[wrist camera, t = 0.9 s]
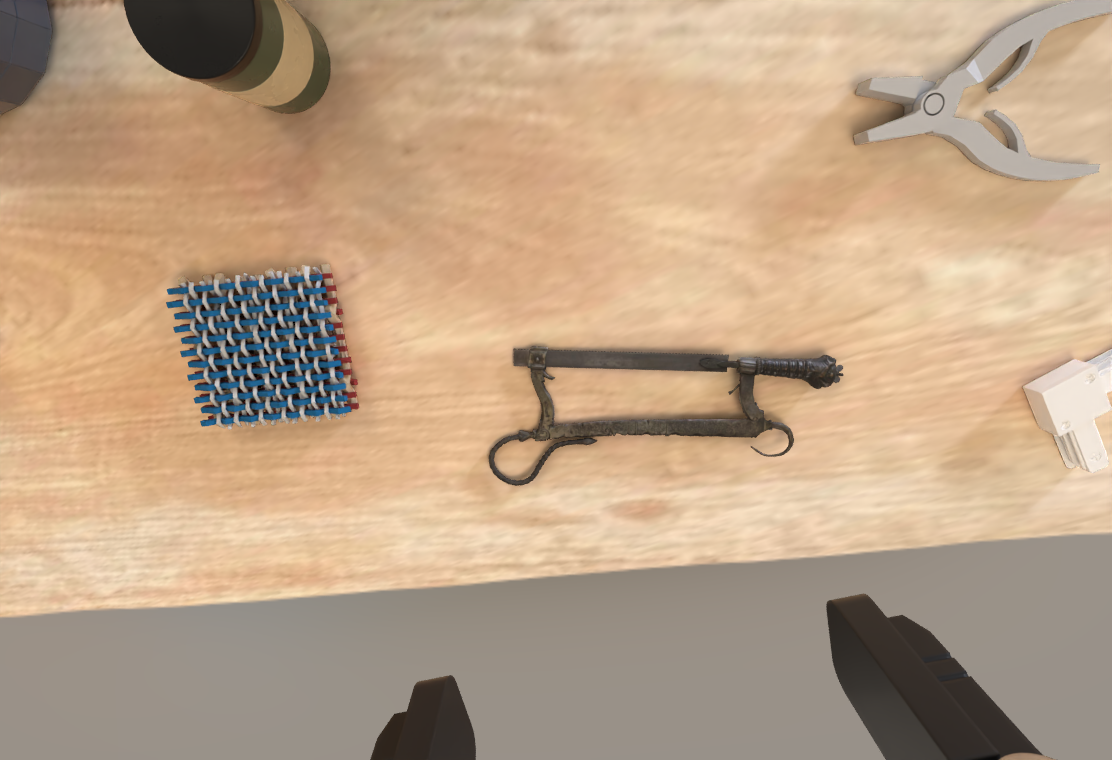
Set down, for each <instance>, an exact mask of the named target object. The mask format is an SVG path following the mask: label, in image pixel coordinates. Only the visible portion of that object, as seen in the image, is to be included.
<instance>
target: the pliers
mask: <svg viewBox="0 0 1112 760" xmlns="http://www.w3.org/2000/svg"><path fill="white" fill-rule="evenodd" d="M1106 14H1112V0H1074V1H1070V2H1066V3H1061V4H1058V5H1055V6H1053V7H1050V8H1047V9H1044V10H1042V11H1039V12H1037V13H1035V14H1032V15H1030V16H1028V17H1026V18H1023V19H1021V20H1019V21H1017V22H1015V23H1013V24H1011V25H1009V26H1008V27H1006V28H1004V29H1002V30H1001V31H999V32H998V33H996V34H995V35H994V36H992V37H991V38H990V39H988V40H987V41H985V42H984V43H983V44H982V45H981V46H980V47H979V48H978V49H977V50H976V51H975V53H974V54H973V55H972V56H971V57H970V58H969V59H968V60H967V61H966V62H965V63H964V64H962V65H961V66H960V67H958V68H957V69H956V70H954V71H953V72H951V73H950V74H949V75H947V76H944V77H942V78H940V79H939V80H938V82H937V83H936V82H931V81H926V80H922V78H923V76H917V77H886V78H871V79H869V80H866V81H864V82H862V83H860V84H858V88H857V91H856V94H855V95H859V96H864V97H869V98H874V99H879V100H884V101H889V102H894V103H899V104H901V105H903V106H904V107H905V109H904V114H905V116H902V117H900V118H898V119H895V120H893V121H890V122H887V123H885V124H882V125H879V126H877V127H874V128H871V129H869V130H866V131H863V132H861V133H858V134H855V135H853V137H854V142H855V145H859V144H866V143H872V142H879V141H885V140H892V139H898V138H904V137H909V136H914V135H919V134H923V133H926V134H928V135H933V136H939V137H942V138H944V139H946V140H947V141H949V142H951V143H952V144H954V145H956V146H957V147H958V148H959V149H960V150H961V151H962V152H963V153H964V154H965V155H966V157H967V158H968V159H969V160H970V161H972V162H973V163H975V164H976V165H978V166H980V167H981V168H983V169H985V170H988V171H990V172H992V173H995V174H997V175H1001V176H1005V177H1009V178H1013V179H1019V180H1025V181H1052V180H1066V179H1072V178H1077V177H1082V176H1086V175H1090V174H1094V173H1098V172H1099V167H1100V164H1073V163H1059V162H1052V161H1047V160H1042V159H1037V158H1033V157H1031V156H1030V154H1029V152H1028V151H1027V149H1026V145H1025V142H1024V139H1023V135H1022V134H1021V132H1020V131H1019V129H1018V127H1017V126H1016V124H1015V123H1014V122H1013V121H1011V120H1010V119H1009V118H1008V117H1007V116H1005V115H1004V114H1002V113H1001V112H999V111H997V110H992V111H988V112H987V113H986V114H985V116H986V117H987V118H989V119H990V120H992V121H993V122H995V123H996V124H997V125H998V126H999V127H1000V128H1001V129H1002V130H1003V132H1004V134H1005V136H1006V138H1007V140H1008V147H1009V149H1008V148H1006V147H1005V146H1004V145H1003V144H1002V143H1001V142H999V141H998V140H997V139H996V138H995V137H994V136H993V135H992V134H991V133H990V132H989V131H988V130H987V129H986V128H985V127H984V126H983V125H982V124H981V123H980V122H976V121H971V120H966V119H961V118H956V117H954V114H955V112H956V109H957V106H958V104H959V101H960V98H961V96H962V93H963V90H964V89H965V88H967V87H970V86H973V85H975V84H978V83H980V82H982V81H984V80H985V79H986V78H987V77H988V76H989V75H990V74H991V73H992V72H993V71H994V70H995V69H996V68H997V67H998V66H999V65H1000V64H1001V63H1002V62H1003V61H1004V60H1005V59H1007V58H1008V57H1009V56H1010V55H1011V54H1012V53H1013V52H1014V51H1015V50H1017V49H1018V48H1019V47H1020V46H1022V48H1021V51H1020V54H1019V57H1018V59H1017V61H1016V62H1015V64H1014V65H1013V67H1012V68H1011V69H1010V71H1009V72H1008V73H1007V74H1006V75H1005V76H1004V77H1003V78H1001V79H1000V80H999V81H998V82H997V83H995V84H994V85H993V86H991V87H990V88H989V89H988V92H989V93H991V92H995V91H998V90H1000V89H1001V88H1002V87H1004V86H1005V85H1007V84H1008V83H1009V82H1011V81H1012V80H1013V79H1014V78H1015V77H1016V76H1018V75H1019V74H1020V73H1021V72H1022V71H1023V70H1024V68H1025V67H1026V66H1027V64H1028V63H1029V62H1030V60H1031V59H1032V58H1033V56H1034V54H1035V52H1036V50H1037V48H1038V46H1039V44H1040V42H1041V41H1042V39H1043V38H1044V37H1045V35H1046V34H1047V33H1048V32H1049V31H1051V30H1053V29H1056V28H1058V27H1061V26H1063V25H1066V24H1069V23H1073V22H1077V21H1080V20H1084V19H1088V18H1092V17H1096V16H1101V15H1106Z"/></svg>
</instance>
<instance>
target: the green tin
mask: <svg viewBox="0 0 1112 760" xmlns="http://www.w3.org/2000/svg"><path fill="white" fill-rule="evenodd" d="M124 6H125V11H126V15H127V18H128V21H129V24H130V26H131V28H132V31H133V33H134V35H135V36H136V38H137V40H138V41H139V43H140V44H141V45H142V47H143V48H144V49H145V51H146V52H147V53H148V54H149V55H150V56H151V57H152V58H153V59H154V60H155V61H156V62H157V63H159V64H160V65H161V66H163V67H164V68H166V69H167V70H169V71H171V72H173V73H175V74H177V75H180V76H183V77H185V78H188V79H190V80H194V81H198V82H201V83H203V84H206V85H208V86H210V87H212V88H215V89H217V90H220V91H222V92H225V93H227V94H230V95H232V96H235V97H238V98H240V99H243V100H245V101H248V102H250V103H253V104H256V105H259V106H262V107H265V108H267V109H270V110H272V111H275V112H279V113H285V114H292V113H298V112H302V111H305V110H307V109H308V108H310V107H312V106H313V105H314V104H315V103H316V102H317V101H318V100H319V99H320V98H321V97H322V95H323V93H324V92H325V90H326V87H327V85H328V81H329V76H330V60H329V54H328V51H327V48H326V45H325V43H324V41H323V39H322V37H321V35H320V34H319V32H318V31H317V29H316V28H315V27H314V26H313V25H312V24H311V23H310V22H309V21H308V20H307V19H306V18H304V17H303V16H302V15H301V14H300V13H298V12H297V11H296V10H295V9H294V8H293V7H292V6H290V5H289V4H288V3H287V2H286V1H285V0H124Z"/></svg>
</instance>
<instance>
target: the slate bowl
mask: <svg viewBox="0 0 1112 760" xmlns="http://www.w3.org/2000/svg"><path fill="white" fill-rule="evenodd" d="M51 36H52V26H51V21H50V16H49V10H48V5H47V0H0V114H3V113H5V112H7V111H9V110H11V109H13V108H16V107H18V106H20V105H21V104H23V102H24V101H25V100H26V98H27V97H28V95H29V94H30V93H31V91H32V90H33V89H34V87H35V86H36V85H37V83H38V82H39V80H40V79H41V78H42V76H43V75H44V73H45V70H46V64H47V59H48V53H49V47H50V42H51Z"/></svg>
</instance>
